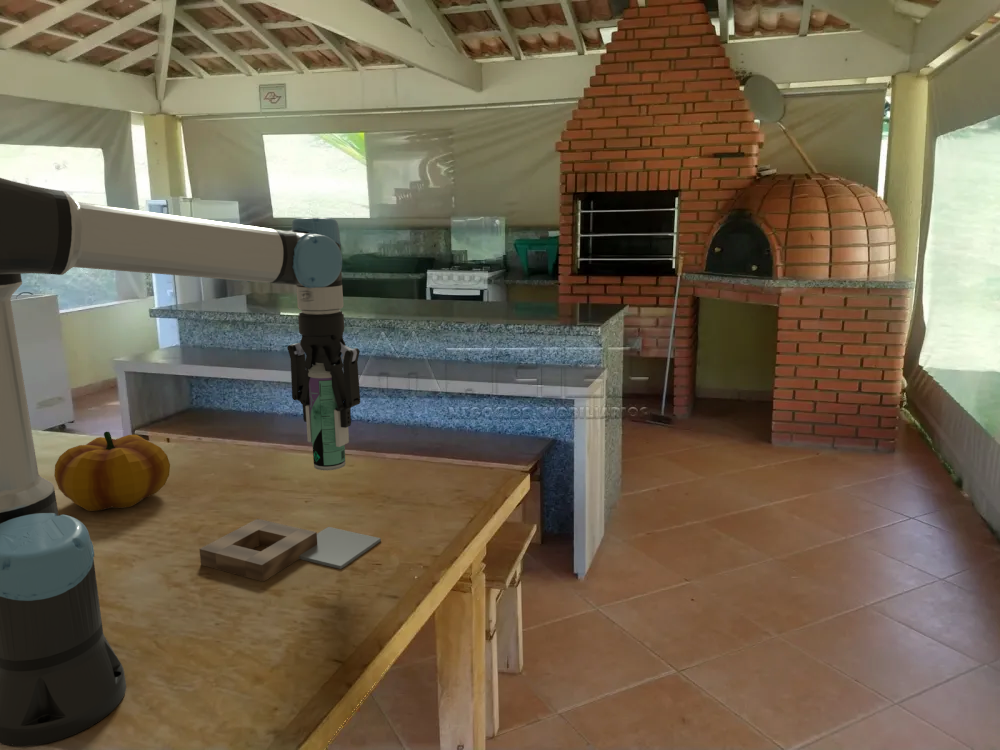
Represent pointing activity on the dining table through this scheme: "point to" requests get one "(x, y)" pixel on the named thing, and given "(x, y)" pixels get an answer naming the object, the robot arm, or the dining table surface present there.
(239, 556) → the eye block
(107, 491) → the decorative pumpkin
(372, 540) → the slate tile
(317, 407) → the spray can
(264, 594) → the dining table surface
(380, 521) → the dining table surface
